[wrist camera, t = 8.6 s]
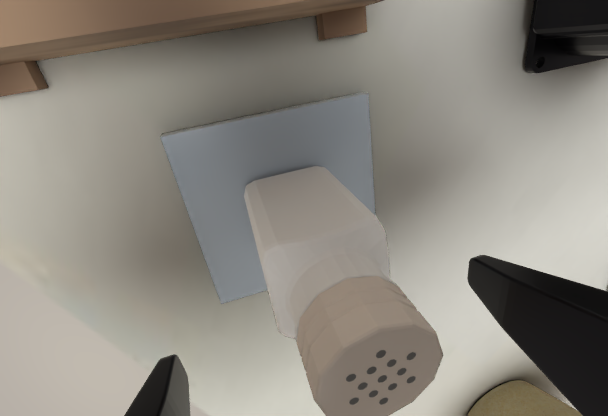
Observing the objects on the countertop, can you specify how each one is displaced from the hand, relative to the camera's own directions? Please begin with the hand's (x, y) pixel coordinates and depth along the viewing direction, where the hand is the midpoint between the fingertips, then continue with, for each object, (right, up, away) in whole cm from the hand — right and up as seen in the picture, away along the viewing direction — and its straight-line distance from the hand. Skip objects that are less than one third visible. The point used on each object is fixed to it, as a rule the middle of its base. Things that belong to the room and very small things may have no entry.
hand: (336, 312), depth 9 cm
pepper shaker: (-2, +3, +6) cm, 7 cm away
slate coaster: (-2, +3, +7) cm, 8 cm away
